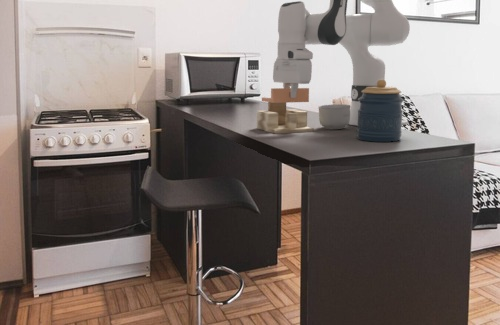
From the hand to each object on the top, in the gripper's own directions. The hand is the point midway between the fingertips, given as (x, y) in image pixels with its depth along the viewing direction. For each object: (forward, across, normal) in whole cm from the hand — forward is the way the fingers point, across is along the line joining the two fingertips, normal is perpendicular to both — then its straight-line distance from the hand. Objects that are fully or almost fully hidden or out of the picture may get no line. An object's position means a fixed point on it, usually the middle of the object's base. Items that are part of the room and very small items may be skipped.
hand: (290, 97), depth 159 cm
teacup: (+11, -2, +18) cm, 22 cm away
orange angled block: (+2, -4, 0) cm, 5 cm away
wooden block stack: (+11, -4, 0) cm, 12 cm away
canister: (+12, +24, +17) cm, 32 cm away
